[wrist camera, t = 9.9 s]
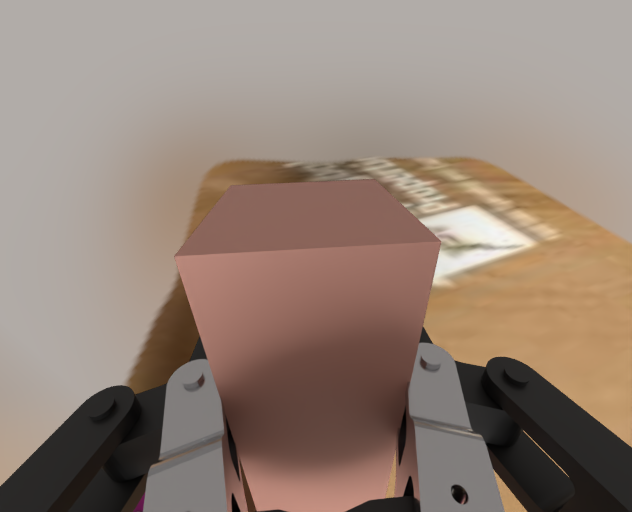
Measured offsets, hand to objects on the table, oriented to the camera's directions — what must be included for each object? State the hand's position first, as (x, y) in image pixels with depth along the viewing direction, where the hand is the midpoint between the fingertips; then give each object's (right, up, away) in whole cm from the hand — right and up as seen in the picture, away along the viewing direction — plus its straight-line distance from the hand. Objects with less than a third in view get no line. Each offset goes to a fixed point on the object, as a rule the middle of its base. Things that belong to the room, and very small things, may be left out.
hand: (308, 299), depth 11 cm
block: (0, -7, +1) cm, 8 cm away
